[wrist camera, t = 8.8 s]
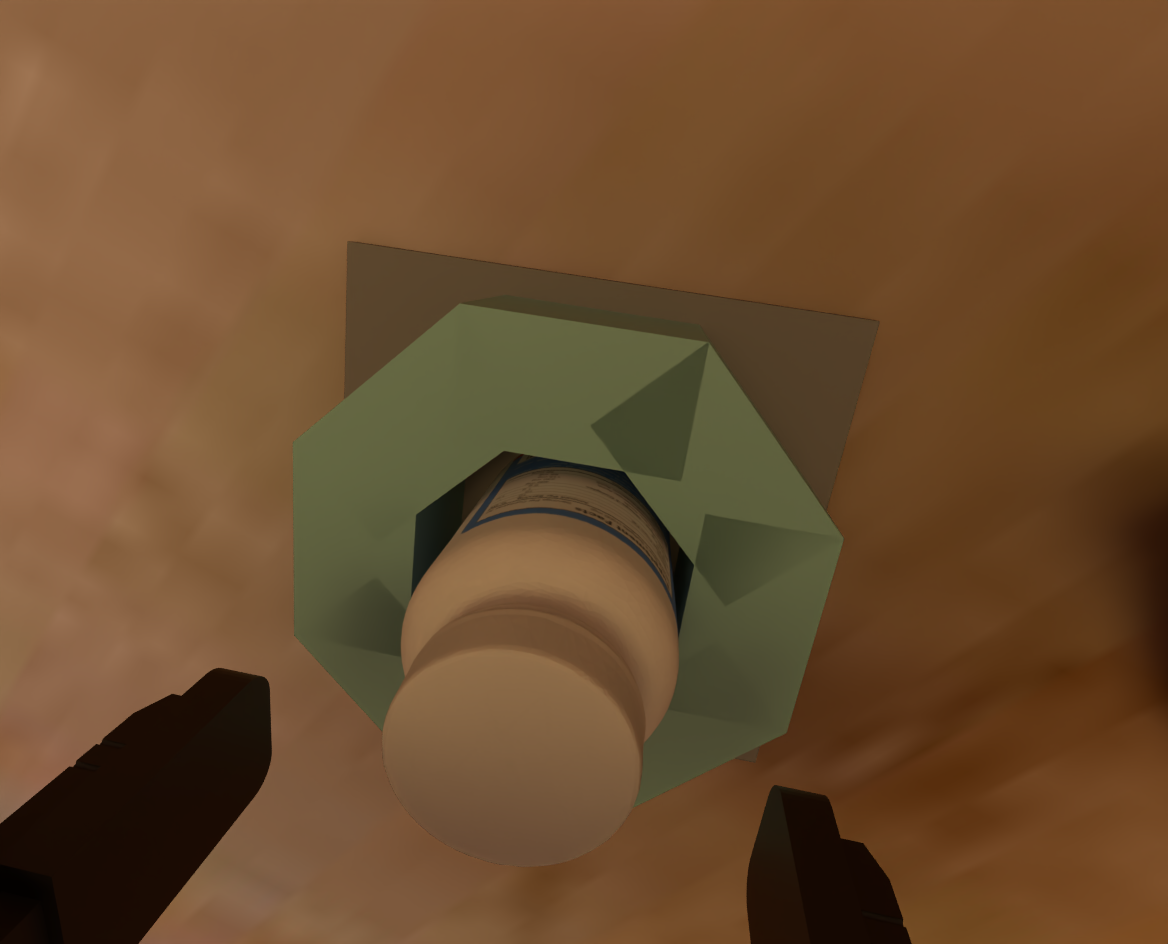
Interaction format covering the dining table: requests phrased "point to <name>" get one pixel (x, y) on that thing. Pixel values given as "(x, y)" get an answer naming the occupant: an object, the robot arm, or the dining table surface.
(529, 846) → the pill bottle
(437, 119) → the dining table surface
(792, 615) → the green faceted planter
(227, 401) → the dining table surface
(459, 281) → the felt mat
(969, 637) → the dining table surface
